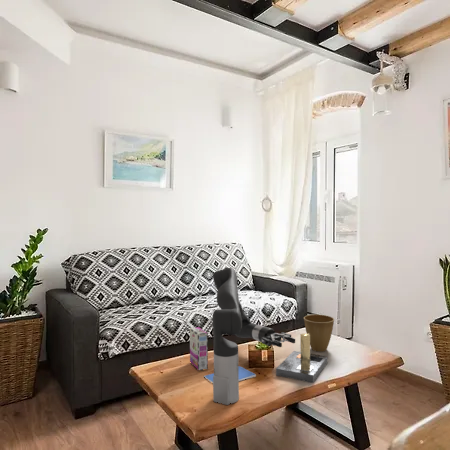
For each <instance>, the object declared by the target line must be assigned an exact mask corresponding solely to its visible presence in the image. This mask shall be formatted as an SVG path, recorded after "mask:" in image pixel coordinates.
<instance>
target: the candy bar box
mask: <svg viewBox="0 0 450 450" xmlns="http://www.w3.org/2000/svg"><path fill="white" fill-rule="evenodd" d="M208 335H209V333H208V332H207V331H205V330H204V329H202V328H201V327H200V326H199V327H190V328H189V363H190V362H191V363H192V364H193V365H194V366H195V367H196V368H197V369H198V370H201V371H204V370H203V369H207V370H208V369H209V366H208V365H209V362H208V361H209V358H208V357H209V350H208V347H209V346H208V343H209V342H208V339H209V338H208V337H209V336H208ZM191 363H190V364H191ZM192 364H191V365H192ZM193 365H192V366H193ZM194 366H193V367H194ZM195 367H194V368H195ZM196 368H195V369H196ZM197 369H196V370H197ZM198 370H197V371H198Z"/></svg>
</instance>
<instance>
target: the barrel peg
mask: <svg viewBox="0 0 450 450" xmlns="http://www.w3.org/2000/svg"><path fill="white" fill-rule="evenodd" d="M299 337H300V338H299V339H300V345H299V346H300V352H301V368H302V369H310V354H311V346H310V334H307V333H300V336H299Z"/></svg>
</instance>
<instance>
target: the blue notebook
mask: <svg viewBox="0 0 450 450" xmlns="http://www.w3.org/2000/svg"><path fill="white" fill-rule="evenodd" d="M238 370H239V382H241V381H245V379H246V380H248V379H252V378H256V377H257V374H256V373H254V372H252V371H250V370H248V369H246V368H244V367H243V366H240V365H238ZM213 376H214V372H213V373H209V374H206V375H203V378H204V377H205V378H206V379H208V380H209V381H210V383H211V382H212V383H213ZM205 378H204V379H205ZM206 379H205V380H206ZM208 380H207V381H208ZM209 381H208V382H209ZM212 383H211V384H212Z"/></svg>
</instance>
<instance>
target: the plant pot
mask: <svg viewBox="0 0 450 450" xmlns="http://www.w3.org/2000/svg"><path fill="white" fill-rule="evenodd" d="M303 321H304V327H305V328H304V329H305V331H306V334H310V349H311V350H312V351H314V352H320V353H321V352H326V351H327V350H328V346H329V344H330V341H331V338H332V333H333V329H334V324H335V323H334V322H335V319H334V317H332V316H329V315H326V314H315V313H314V314H308V315H305V316H304V317H303Z"/></svg>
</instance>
